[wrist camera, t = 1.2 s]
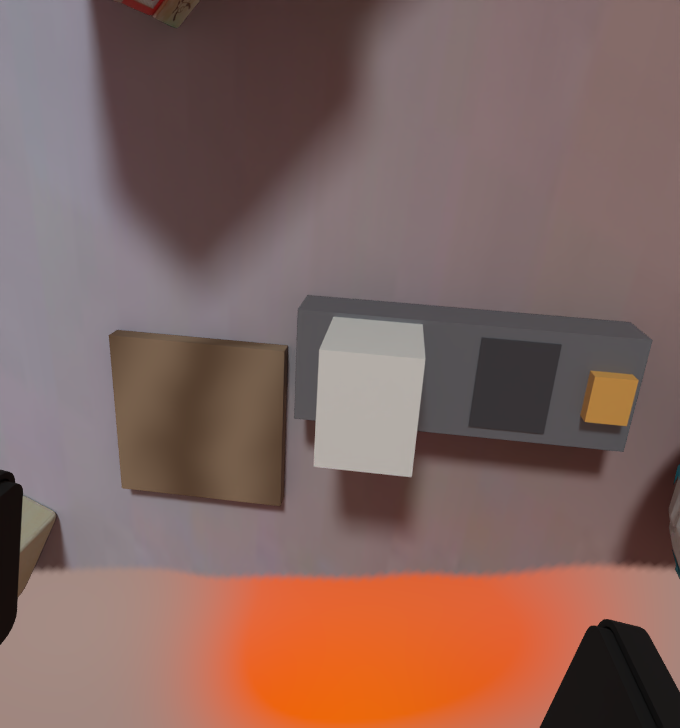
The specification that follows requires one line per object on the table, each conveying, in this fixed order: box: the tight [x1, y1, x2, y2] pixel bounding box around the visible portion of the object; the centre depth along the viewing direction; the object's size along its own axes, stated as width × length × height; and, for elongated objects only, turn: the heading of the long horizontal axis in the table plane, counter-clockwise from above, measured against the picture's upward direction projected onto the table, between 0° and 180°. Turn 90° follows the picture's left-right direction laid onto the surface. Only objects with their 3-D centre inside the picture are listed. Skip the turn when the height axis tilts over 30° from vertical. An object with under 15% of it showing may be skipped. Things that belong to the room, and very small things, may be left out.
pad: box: [109, 330, 288, 506], centre depth 35 cm, size 10×10×1 cm
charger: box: [314, 317, 425, 477], centre depth 29 cm, size 4×6×7 cm
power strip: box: [294, 295, 652, 452], centre depth 31 cm, size 17×6×4 cm, turn 87°
